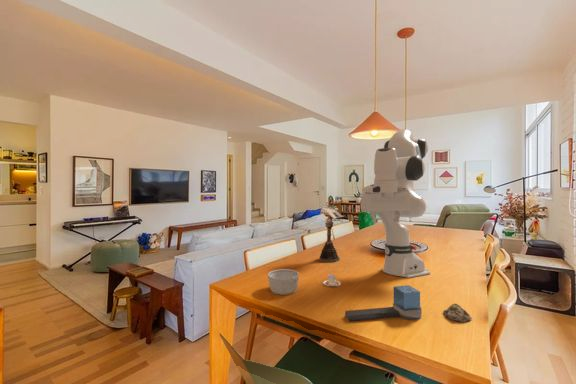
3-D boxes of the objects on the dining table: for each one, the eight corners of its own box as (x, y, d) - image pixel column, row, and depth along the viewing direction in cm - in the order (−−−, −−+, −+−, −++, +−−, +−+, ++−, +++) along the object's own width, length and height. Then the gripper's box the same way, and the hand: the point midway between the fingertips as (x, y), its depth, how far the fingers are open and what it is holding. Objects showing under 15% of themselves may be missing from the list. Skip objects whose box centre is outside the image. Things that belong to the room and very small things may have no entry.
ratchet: (352, 326, 86) (352, 305, 86) (342, 313, 95) (342, 294, 95) (427, 319, 90) (427, 299, 90) (411, 307, 99) (411, 289, 99)
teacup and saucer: (336, 289, 118) (336, 279, 118) (319, 285, 122) (319, 276, 122) (343, 283, 125) (343, 274, 125) (327, 280, 129) (327, 271, 129)
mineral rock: (473, 319, 85) (445, 306, 90) (469, 331, 86) (441, 318, 90) (472, 307, 94) (447, 296, 99) (468, 318, 95) (443, 307, 99)
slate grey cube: (408, 301, 98) (408, 285, 97) (420, 309, 92) (420, 291, 92) (393, 303, 96) (393, 286, 96) (403, 311, 91) (403, 293, 90)
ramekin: (275, 298, 108) (275, 281, 107) (263, 287, 119) (263, 271, 119) (304, 292, 114) (304, 275, 114) (289, 282, 125) (289, 267, 125)
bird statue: (351, 260, 162) (351, 201, 161) (340, 264, 152) (340, 202, 151) (327, 255, 173) (327, 200, 172) (315, 259, 163) (315, 201, 162)
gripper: (404, 187, 114) (404, 220, 115) (358, 188, 110) (358, 222, 110) (413, 187, 108) (413, 222, 108) (366, 188, 104) (366, 224, 104)
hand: (385, 222), depth 109 cm, fingers open, 8 cm apart
